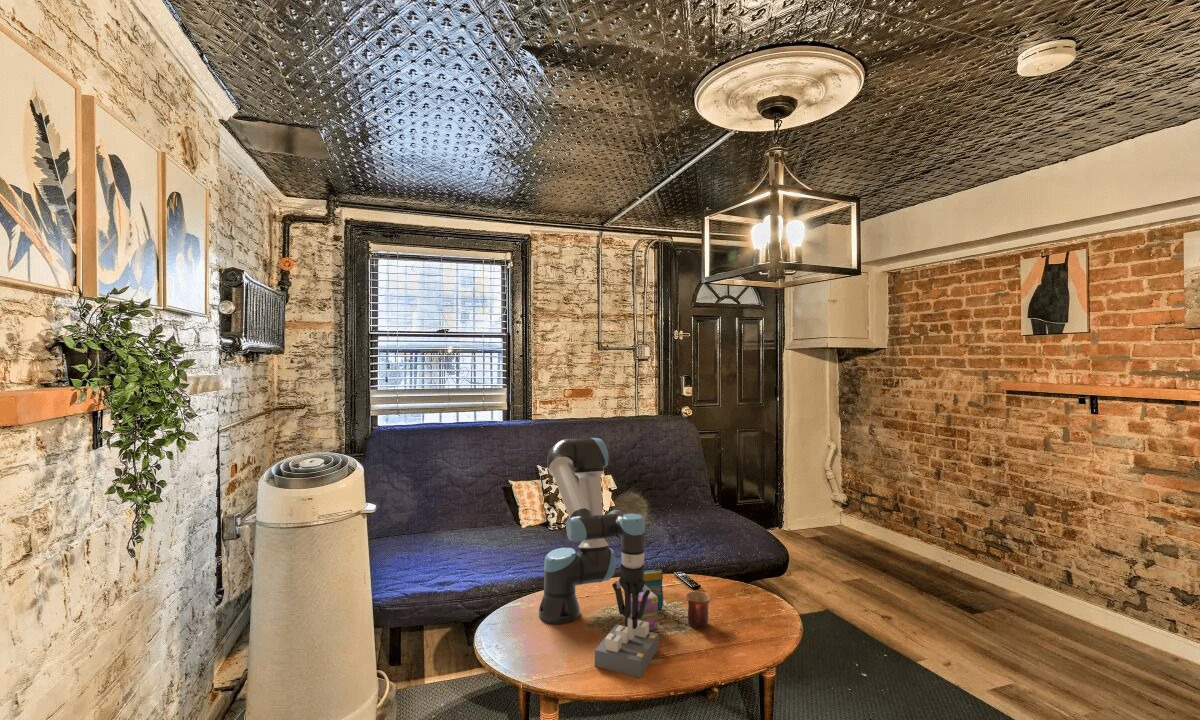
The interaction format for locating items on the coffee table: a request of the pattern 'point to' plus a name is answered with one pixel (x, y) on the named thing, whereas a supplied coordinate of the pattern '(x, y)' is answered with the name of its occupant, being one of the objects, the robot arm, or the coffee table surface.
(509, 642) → the coffee table surface
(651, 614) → the box
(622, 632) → the slider
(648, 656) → the switch unit
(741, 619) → the coffee table surface
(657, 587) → the teal carton
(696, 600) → the mug
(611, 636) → the slider
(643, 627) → the slider
